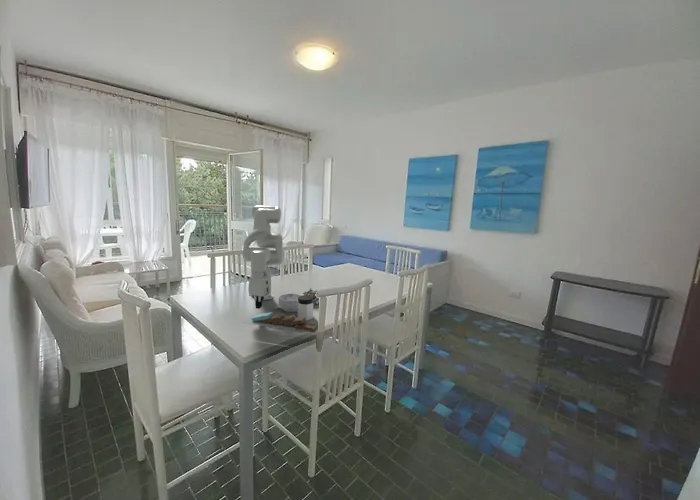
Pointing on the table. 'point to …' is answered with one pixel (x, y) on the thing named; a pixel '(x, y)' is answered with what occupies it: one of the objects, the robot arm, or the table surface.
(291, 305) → the paper bowls
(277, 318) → the tile
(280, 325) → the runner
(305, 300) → the jar
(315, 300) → the passion flower
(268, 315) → the tile
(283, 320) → the tile
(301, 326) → the tile
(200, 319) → the table surface
